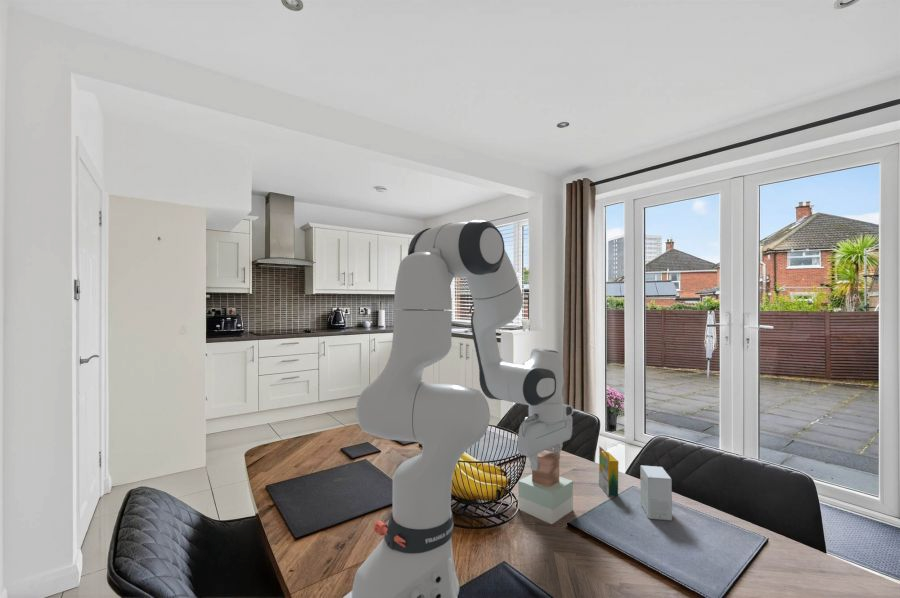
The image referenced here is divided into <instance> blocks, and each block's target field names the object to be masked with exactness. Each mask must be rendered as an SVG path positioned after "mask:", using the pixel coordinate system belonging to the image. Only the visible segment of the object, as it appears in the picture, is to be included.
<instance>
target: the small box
mask: <svg viewBox="0 0 900 598" xmlns="http://www.w3.org/2000/svg"><path fill="white" fill-rule="evenodd" d="M639 469H640V504H641V507H642V508H643V511H644V510H645V511H644V512H646V513H645V514H646V516H647V518H648V519H649V520H650V519H651V520H660V521H661V520H663V521H672V520H673V504H672V503H673V499H672V498H673V493H672V491H673V489H672V488H673V487H672V485H673V484H672V483H673V481H672V480H673V479H672V477H671V476H670V475H669V473H667V471H666V470H665V469H664V467H663V466H657V465H655V466H654V465H652V466H651V465H640V467H639Z"/></svg>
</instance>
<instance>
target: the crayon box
mask: <svg viewBox="0 0 900 598" xmlns="http://www.w3.org/2000/svg"><path fill="white" fill-rule="evenodd" d="M598 446H599V453H598V454H599V456H598V457H599V459H598V460H599V461H598V462H599V463H598V464H599V465H598V470H599V471H598V485H599V487H601V489H602V490H603V491H604V492H605V494H606V495H607V496H608V497H618V496H619V460H618V459H616V457H614V455H612V454H611V453H610V452H608V451H606V450H605V449H604V448H603V447H601V446H600V445H598Z"/></svg>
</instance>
